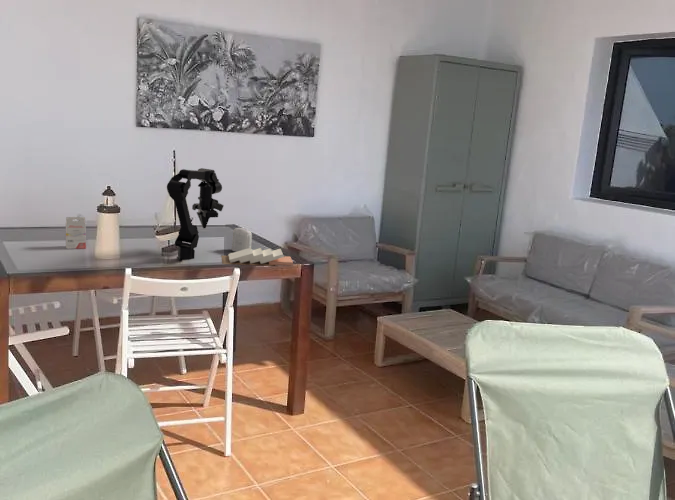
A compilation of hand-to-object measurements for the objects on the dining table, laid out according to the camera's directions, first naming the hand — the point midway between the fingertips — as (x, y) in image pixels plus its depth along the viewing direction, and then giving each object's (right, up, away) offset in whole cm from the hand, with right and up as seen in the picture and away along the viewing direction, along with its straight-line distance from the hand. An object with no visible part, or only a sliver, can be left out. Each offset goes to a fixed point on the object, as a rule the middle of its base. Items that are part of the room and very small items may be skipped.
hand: (204, 228), depth 325 cm
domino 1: (+13, -14, -7) cm, 21 cm away
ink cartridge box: (-57, -9, -10) cm, 59 cm away
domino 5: (+31, -15, -4) cm, 34 cm away
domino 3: (+22, -15, -6) cm, 27 cm away
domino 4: (+27, -15, -5) cm, 31 cm away
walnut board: (+21, -16, -5) cm, 27 cm away
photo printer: (+16, -12, +9) cm, 22 cm away
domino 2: (+17, -14, -7) cm, 24 cm away
